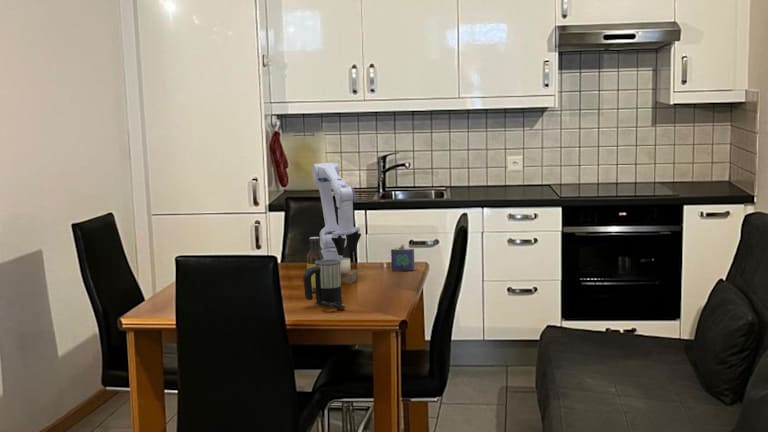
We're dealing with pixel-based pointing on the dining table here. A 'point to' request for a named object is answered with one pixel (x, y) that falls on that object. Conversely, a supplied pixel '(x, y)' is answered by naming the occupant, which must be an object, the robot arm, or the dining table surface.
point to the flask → (402, 259)
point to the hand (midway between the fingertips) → (347, 253)
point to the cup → (345, 265)
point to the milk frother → (325, 283)
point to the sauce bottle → (314, 257)
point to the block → (349, 277)
